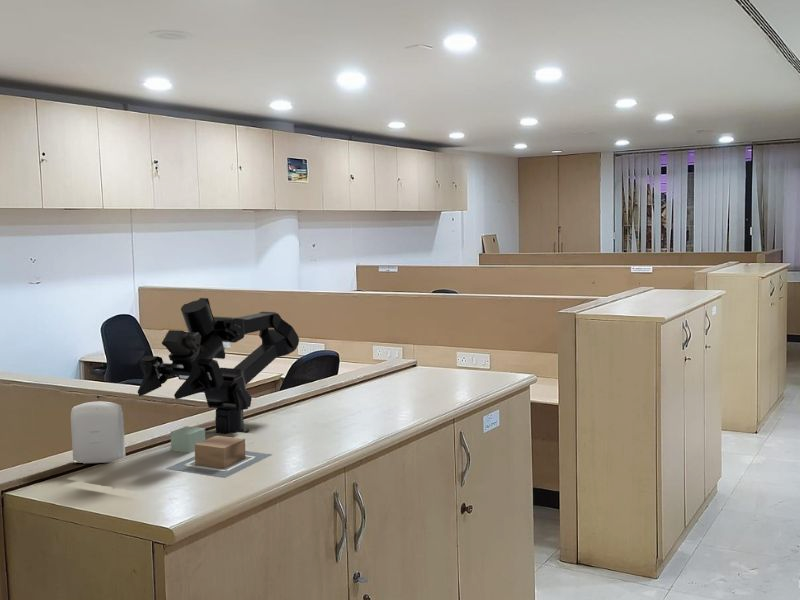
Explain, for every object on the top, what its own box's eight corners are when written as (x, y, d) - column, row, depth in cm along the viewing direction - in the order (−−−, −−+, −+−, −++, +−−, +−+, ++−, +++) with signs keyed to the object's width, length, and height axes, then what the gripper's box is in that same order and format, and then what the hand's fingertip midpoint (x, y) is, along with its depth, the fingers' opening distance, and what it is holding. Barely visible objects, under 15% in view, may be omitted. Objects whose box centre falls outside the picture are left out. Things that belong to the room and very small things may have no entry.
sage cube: (186, 448, 167) (186, 426, 167) (205, 451, 165) (205, 428, 165) (171, 455, 163) (170, 431, 162) (190, 457, 161) (189, 434, 160)
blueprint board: (216, 451, 165) (216, 446, 165) (272, 459, 159) (272, 453, 159) (165, 473, 150) (165, 468, 150) (225, 482, 145) (225, 477, 145)
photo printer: (69, 465, 156) (67, 405, 155) (76, 459, 160) (73, 400, 159) (122, 463, 157) (120, 403, 156) (127, 457, 161) (125, 399, 160)
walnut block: (217, 454, 159) (216, 435, 159) (245, 458, 156) (245, 439, 156) (195, 464, 153) (194, 444, 152) (224, 468, 150) (223, 448, 150)
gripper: (153, 319, 168) (106, 360, 155) (225, 322, 160) (182, 364, 148) (170, 362, 173) (125, 404, 160) (240, 366, 166) (199, 411, 153)
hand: (156, 395), depth 155 cm, fingers open, 9 cm apart
